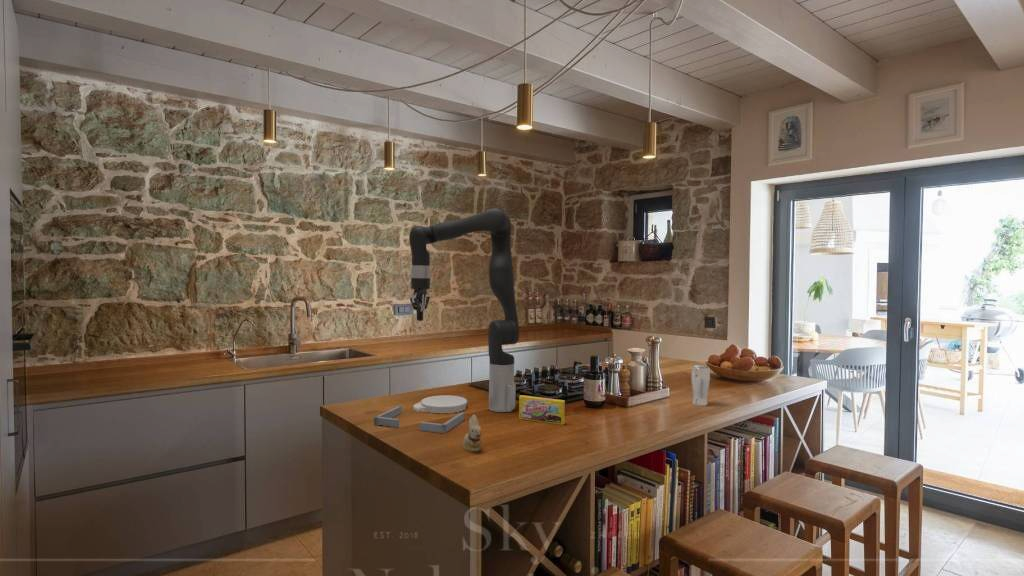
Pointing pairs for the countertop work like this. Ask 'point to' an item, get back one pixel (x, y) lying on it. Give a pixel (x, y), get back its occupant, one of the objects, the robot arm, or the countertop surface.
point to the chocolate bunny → (473, 436)
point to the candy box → (542, 409)
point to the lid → (441, 404)
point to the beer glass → (700, 384)
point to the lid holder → (388, 420)
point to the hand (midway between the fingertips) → (419, 320)
